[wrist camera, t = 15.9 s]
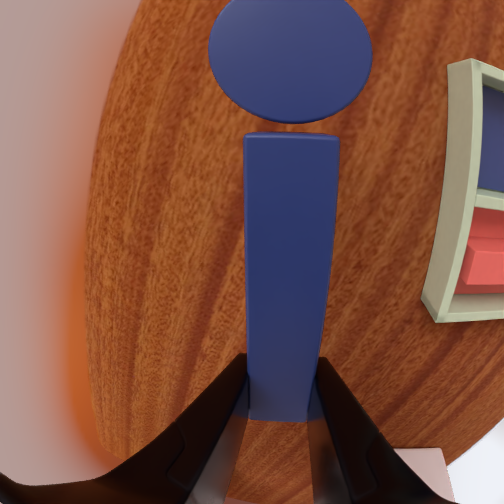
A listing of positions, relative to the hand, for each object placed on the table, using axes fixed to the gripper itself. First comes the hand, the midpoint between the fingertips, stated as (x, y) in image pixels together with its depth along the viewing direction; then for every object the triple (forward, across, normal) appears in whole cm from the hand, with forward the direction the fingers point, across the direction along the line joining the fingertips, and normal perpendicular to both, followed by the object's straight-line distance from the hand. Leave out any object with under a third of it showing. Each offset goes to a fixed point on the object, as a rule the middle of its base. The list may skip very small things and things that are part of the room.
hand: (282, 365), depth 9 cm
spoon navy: (+1, 0, -5) cm, 5 cm away
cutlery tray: (+8, -18, -4) cm, 20 cm away
